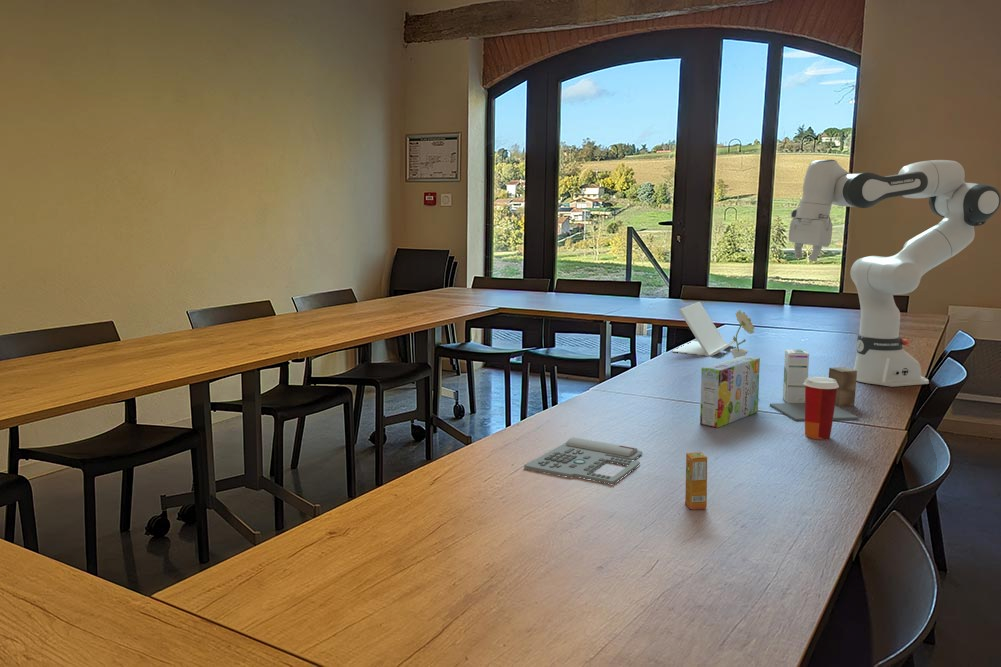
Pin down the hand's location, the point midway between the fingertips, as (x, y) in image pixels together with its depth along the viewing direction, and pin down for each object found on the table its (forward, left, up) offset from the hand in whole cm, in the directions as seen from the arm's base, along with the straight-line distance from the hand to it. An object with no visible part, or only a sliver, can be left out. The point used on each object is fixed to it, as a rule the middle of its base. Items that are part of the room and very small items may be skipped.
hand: (805, 259), depth 229 cm
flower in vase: (+25, +14, -39) cm, 48 cm away
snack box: (+36, +36, -39) cm, 64 cm away
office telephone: (+79, +66, -39) cm, 111 cm away
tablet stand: (+9, -56, -39) cm, 69 cm away
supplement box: (+65, +92, -39) cm, 120 cm away
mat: (+12, +33, -38) cm, 52 cm away
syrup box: (+11, +21, -39) cm, 46 cm away
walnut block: (0, +25, -39) cm, 46 cm away
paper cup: (+21, +53, -39) cm, 69 cm away
